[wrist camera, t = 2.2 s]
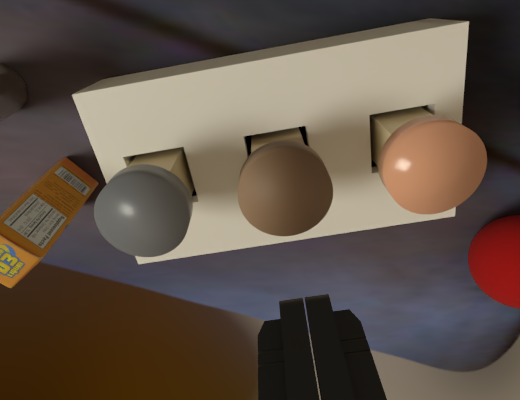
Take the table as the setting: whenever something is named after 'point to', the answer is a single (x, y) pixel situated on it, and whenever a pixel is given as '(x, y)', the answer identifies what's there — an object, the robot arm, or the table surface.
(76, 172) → the supplement box
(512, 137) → the table surface
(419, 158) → the terracotta knob
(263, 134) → the walnut knob
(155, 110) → the knob console
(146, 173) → the charcoal knob
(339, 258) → the table surface
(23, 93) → the milkshake
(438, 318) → the table surface
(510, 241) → the christmas ornament
